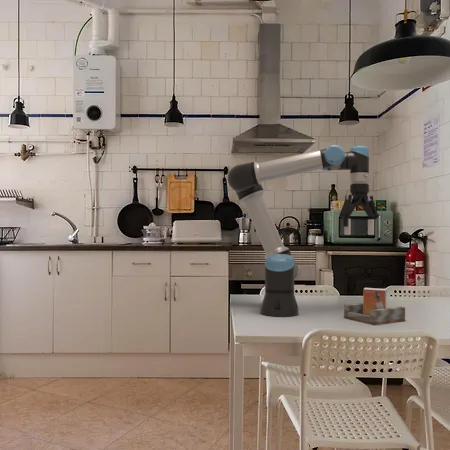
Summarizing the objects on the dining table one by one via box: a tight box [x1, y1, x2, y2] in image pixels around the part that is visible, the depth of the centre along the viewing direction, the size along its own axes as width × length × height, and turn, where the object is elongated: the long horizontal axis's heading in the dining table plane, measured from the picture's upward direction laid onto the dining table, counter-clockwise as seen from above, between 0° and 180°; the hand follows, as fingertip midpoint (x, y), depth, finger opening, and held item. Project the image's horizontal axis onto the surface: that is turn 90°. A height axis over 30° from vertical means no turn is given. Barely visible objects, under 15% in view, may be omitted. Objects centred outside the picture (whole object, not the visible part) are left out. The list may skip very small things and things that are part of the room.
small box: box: [362, 287, 387, 316], centre depth 170 cm, size 8×6×10 cm
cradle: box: [343, 302, 406, 326], centre depth 169 cm, size 16×15×5 cm
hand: (359, 234), depth 187 cm, fingers open, 13 cm apart
